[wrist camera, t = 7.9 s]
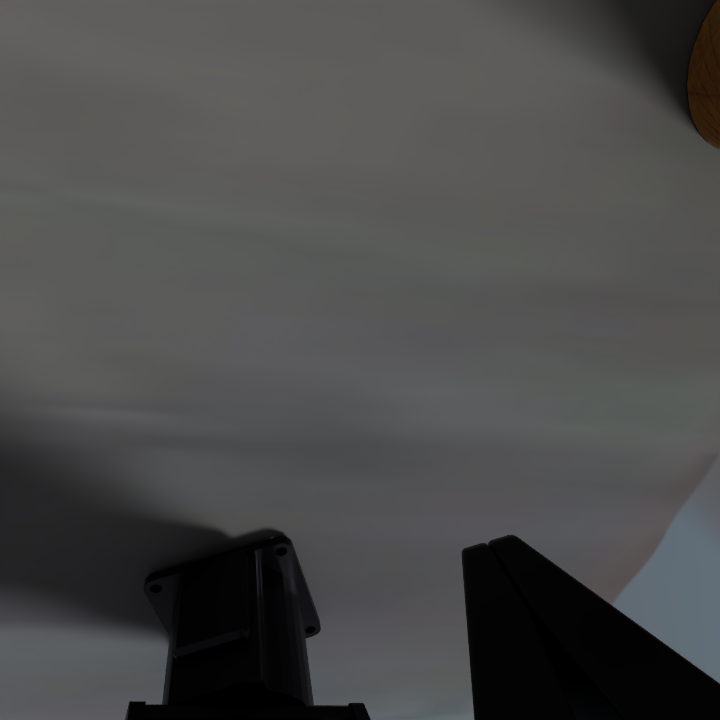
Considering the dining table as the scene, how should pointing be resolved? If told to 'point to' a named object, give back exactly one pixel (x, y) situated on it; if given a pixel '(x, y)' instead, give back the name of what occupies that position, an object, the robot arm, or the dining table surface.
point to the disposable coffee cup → (706, 78)
